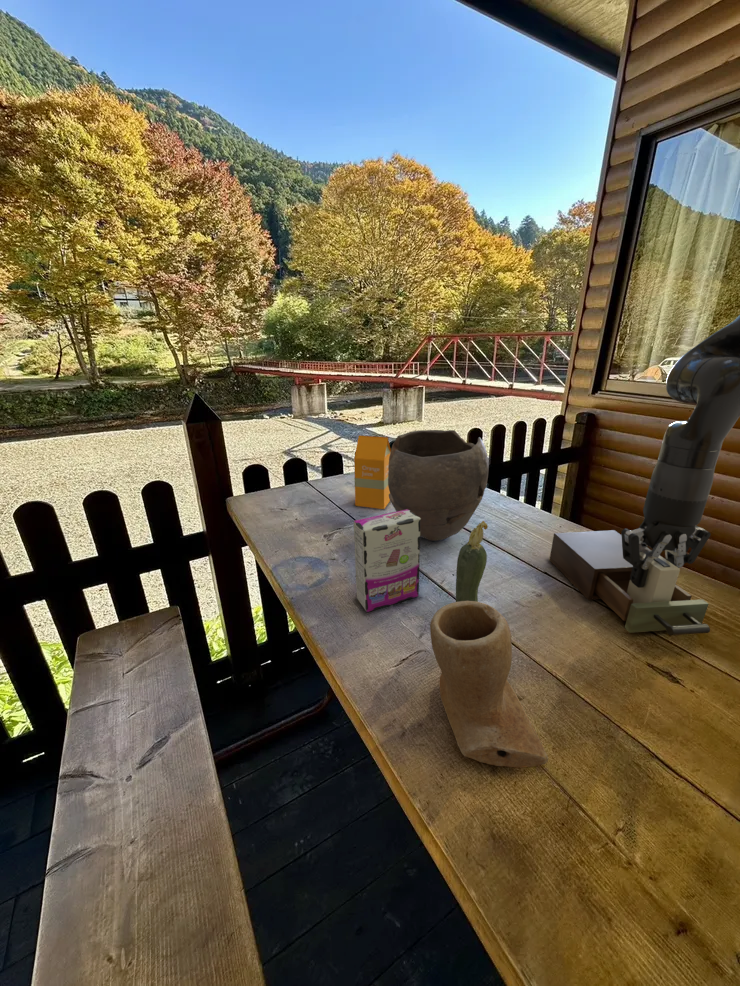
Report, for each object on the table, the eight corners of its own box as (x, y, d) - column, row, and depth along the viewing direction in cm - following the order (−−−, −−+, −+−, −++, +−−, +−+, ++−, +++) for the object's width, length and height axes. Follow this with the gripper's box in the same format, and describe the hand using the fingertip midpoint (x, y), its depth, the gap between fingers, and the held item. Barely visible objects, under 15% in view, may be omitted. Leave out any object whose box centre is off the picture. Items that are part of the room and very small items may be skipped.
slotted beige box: (643, 596, 74) (655, 550, 70) (666, 615, 69) (681, 567, 65) (625, 597, 74) (637, 551, 70) (647, 616, 68) (661, 568, 65)
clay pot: (490, 526, 105) (501, 430, 96) (466, 571, 85) (476, 456, 76) (404, 510, 116) (407, 422, 107) (365, 546, 96) (363, 442, 87)
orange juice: (384, 509, 116) (384, 440, 109) (354, 505, 119) (353, 438, 112) (391, 499, 123) (392, 434, 116) (363, 496, 126) (362, 432, 118)
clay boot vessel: (418, 676, 59) (422, 588, 54) (498, 671, 60) (510, 584, 55) (444, 782, 45) (453, 678, 40) (548, 774, 46) (571, 670, 41)
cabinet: (656, 595, 77) (665, 565, 75) (588, 599, 76) (595, 569, 74) (608, 556, 91) (614, 530, 88) (549, 559, 90) (553, 532, 87)
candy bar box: (405, 583, 81) (408, 507, 76) (419, 597, 77) (422, 517, 71) (354, 598, 77) (352, 519, 71) (365, 613, 73) (364, 530, 67)
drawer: (723, 645, 63) (733, 620, 62) (648, 651, 62) (655, 625, 61) (642, 582, 80) (648, 560, 78) (582, 585, 79) (586, 563, 77)
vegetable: (451, 635, 67) (460, 525, 60) (452, 619, 71) (461, 514, 64) (478, 639, 66) (491, 528, 59) (478, 622, 70) (490, 516, 63)
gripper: (652, 501, 59) (626, 600, 65) (742, 497, 60) (709, 594, 67) (618, 483, 66) (597, 574, 72) (700, 480, 67) (673, 570, 74)
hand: (651, 583), depth 69 cm, fingers open, 4 cm apart
